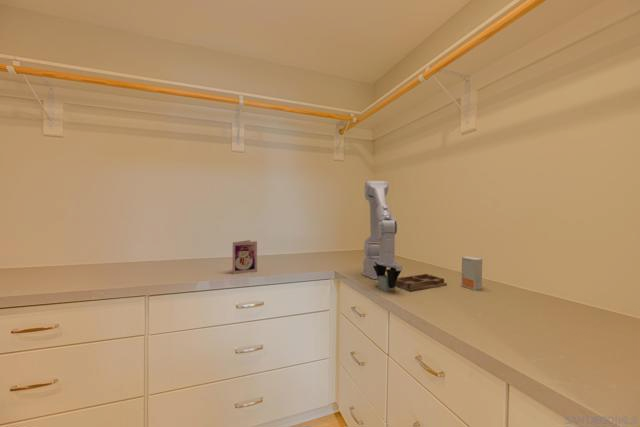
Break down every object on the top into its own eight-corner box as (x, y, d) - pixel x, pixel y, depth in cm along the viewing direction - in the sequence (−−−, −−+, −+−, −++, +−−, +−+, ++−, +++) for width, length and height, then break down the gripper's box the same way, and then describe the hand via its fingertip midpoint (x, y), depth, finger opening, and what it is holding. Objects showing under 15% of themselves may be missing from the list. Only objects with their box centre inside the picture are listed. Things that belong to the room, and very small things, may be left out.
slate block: (378, 288, 102) (378, 275, 102) (387, 287, 104) (387, 274, 104) (385, 291, 98) (385, 278, 98) (395, 290, 100) (395, 277, 100)
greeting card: (232, 274, 122) (232, 242, 122) (230, 271, 129) (230, 240, 129) (257, 272, 127) (257, 241, 127) (254, 268, 134) (254, 239, 134)
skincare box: (460, 286, 106) (461, 256, 106) (468, 285, 107) (469, 256, 107) (474, 290, 100) (474, 259, 100) (482, 289, 102) (482, 258, 101)
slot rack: (390, 284, 108) (390, 277, 108) (425, 278, 117) (425, 272, 117) (411, 292, 98) (411, 285, 98) (447, 285, 107) (447, 279, 107)
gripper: (367, 248, 106) (366, 281, 106) (391, 254, 93) (391, 292, 93) (381, 247, 109) (380, 279, 109) (406, 252, 96) (406, 289, 96)
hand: (386, 285), depth 101 cm, fingers open, 5 cm apart
